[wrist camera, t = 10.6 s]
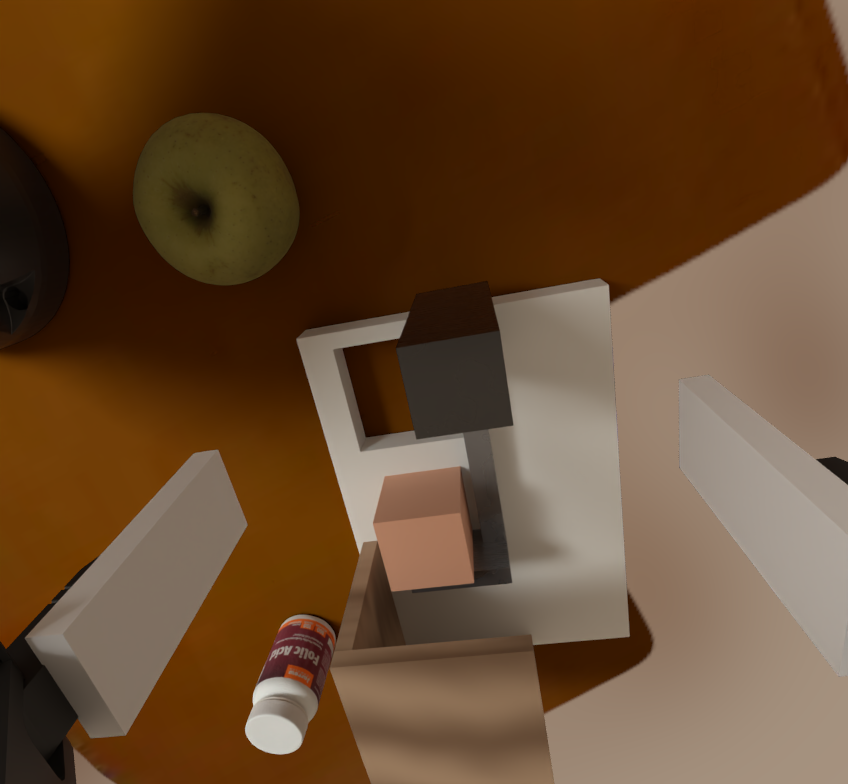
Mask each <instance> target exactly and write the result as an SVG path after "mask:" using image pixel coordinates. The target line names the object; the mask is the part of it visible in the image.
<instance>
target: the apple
mask: <svg viewBox="0 0 848 784" xmlns="http://www.w3.org/2000/svg"><path fill="white" fill-rule="evenodd" d="M133 204H134V208H135V213H136V216H137V218H138V221H139V223H140V225H141V227H142V229H143V231H144V233H145V235H146V236H147V238H148V240H149V241H150V242H151V244H152V245H153V247H154V248H155V249H156V250H157V252H158V253H159V254H160V255H161V256H162V257H163V258H164V259H165V260H166V261H167V262H168V263H169V264H170V265H171V266H173V267H174V268H175V269H176V270H178V271H180V272H181V273H183V274H184V275H186V276H188V277H190V278H192V279H195V280H197V281H200V282H204V283H208V284H214V285H236V284H241V283H245V282H249V281H251V280H253V279H256V278H258V277H260V276H262V275H263V274H265V273H267V272H268V271H269V270H271V269H272V268H273V267H274V266H275V265H276V264H277V263H278V262H279V261H280V260H281V259H282V258H283V257H284V255H285V254H286V253H287V251H288V250H289V248H290V247H291V245H292V243H293V241H294V239H295V236H296V234H297V230H298V226H299V216H300V211H299V202H298V198H297V194H296V189H295V186H294V183H293V180H292V177H291V175H290V173H289V171H288V169H287V167H286V165H285V164H284V162H283V160H282V158H281V157H280V155H279V154H278V153H277V151H276V150H275V148H274V147H273V146H272V145H271V144H270V142H269V141H268V140H267V139H266V138H264V137H263V136H262V135H261V134H260V133H259V132H257V131H256V130H255V129H253V128H252V127H250V126H249V125H247V124H245V123H243V122H241V121H239V120H237V119H234V118H232V117H228V116H225V115H221V114H215V113H191V114H187V115H184V116H180V117H176V118H174V119H172V120H170V121H169V122H167V123H165V124H163V125H162V126H161V127H160V128H159V129H158V130H157V131H156V132H155V133H153V134H152V136H151V137H150V139H149V140H148V141H147V143H146V145H145V147H144V149H143V151H142V153H141V155H140V157H139V160H138V163H137V167H136V170H135V176H134V183H133Z"/></svg>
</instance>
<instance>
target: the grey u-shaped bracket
mask: <svg viewBox="0 0 848 784" xmlns="http://www.w3.org/2000/svg"><path fill="white" fill-rule="evenodd" d="M396 351H397V356H398V360H399V364H400V369H401V373H402V378H403V382H404V387H405V391H406V396H407V400H408V404H409V409H410V413H411V418H412V422H413V427H414V431H415V436H416V440H417V439H424V438H431V437H438V436H445V435H452V434H459V433H463V436H464V442H465V447H466V452H467V458H468V463H469V469H470V474H471V479H472V485H473V490H474V495H475V501H476V506H477V511H478V517H479V522H480V528H481V529H476V530H473V560H474V583H471V584H461V585H451V586H442V587H432V588H422V589H413V590H411V591H412V593H422V592H431V591H441V590H451V589H460V588H470V587H480V586H490V585H499V584H509V583H512V575H511V567H510V559H509V551H508V543H507V537H506V531H505V525H504V518H503V512H502V506H501V500H500V494H499V488H498V482H497V476H496V470H495V464H494V458H493V452H492V446H491V440H490V434H489V429H494V428H501V427H507V426H514V425H513V418H512V411H511V404H510V397H509V390H508V383H507V376H506V369H505V362H504V356H503V349H502V342H501V335H500V329H499V325H498V321H497V317H496V313H495V309H494V305H493V301H492V297H491V293H490V289H489V286H488V282H487V281H485V282H479V283H474V284H468V285H463V286H457V287H452V288H446V289H441V290H435V291H430V292H424V293H419V294H416V297H415V299H414V302H413V305H412V307H411V310H410V312H409V315H408V318H407V320H406V323H405V326H404V328H403V331H402V333H401V336H400V339H399V341H398V344H397V347H396Z"/></svg>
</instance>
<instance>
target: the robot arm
mask: <svg viewBox="0 0 848 784" xmlns="http://www.w3.org/2000/svg"><path fill="white" fill-rule="evenodd" d="M68 274H69V251H68V243H67V237H66V232H65V229H64V225H63V221H62V218H61V215H60V212H59V210H58V207H57V205H56V202H55V200H54V198H53V196H52V194H51V192H50V190H49V188H48V186H47V184H46V183H45V181H44V179H43V178H42V176H41V174H40V173H39V171H38V170H37V168H36V167H35V166H34V164H33V163H32V161H31V160H30V159H29V158H28V156H27V155H26V154H25V153H24V151H23V150H22V149H21V148H20V147H19V146H18V144H17V143H16V142H15V141H14V140H13V139H12V138H11V137H10V136H9V135H8V134H7V133H6V132H4V131H3V130H2V129H1V128H0V349H2V348H5V347H7V346H10V345H13V344H16V343H18V342H21V341H23V340H25V339H28V338H29V337H31V336H33V335H34V334H36V333H37V332H39V331H40V330H41V329H42V328H43V327H45V326H46V325H47V323H48V322H49V321H50V320H51V319H52V318H53V316H54V315H55V313H56V312H57V310H58V308H59V306H60V304H61V302H62V300H63V297H64V294H65V290H66V287H67V282H68ZM679 468H680V469H681V471H682V472H683V473H684V475H685V476H686V477H687V478H688V480H689V481H690V482H691V484H692V485H693V486H694V488H695V489H696V490H697V492H698V493H699V494H700V495H701V497H702V498H703V499H704V501H705V502H706V503H707V505H708V506H709V507H710V508H711V510H712V511H713V512H714V514H715V515H716V517H717V518H718V519H719V520H720V522H721V523H722V524H723V526H724V527H725V528H726V530H727V531H728V532H729V534H730V535H731V536H732V537H733V539H734V540H735V541H736V543H737V544H738V545H739V547H740V548H741V549H742V551H743V552H744V553H745V555H746V556H747V557H748V558H749V560H750V561H751V562H752V564H753V565H754V566H755V567H756V569H757V570H758V572H759V573H760V574H761V576H762V577H763V578H764V579H765V581H766V582H767V583H768V584H769V586H770V587H771V589H772V590H773V591H774V592H775V594H776V595H777V596H778V598H779V599H780V600H781V602H782V603H783V604H784V606H785V607H786V608H787V609H788V611H789V612H790V614H791V615H792V616H793V617H794V619H795V620H796V621H797V623H798V624H799V625H800V626H801V628H802V629H803V631H804V632H805V633H806V635H807V636H808V637H809V638H810V640H811V641H812V642H813V644H814V645H815V646H816V648H817V649H818V650H819V652H820V653H821V654H822V655H823V657H824V658H825V659H826V661H827V662H828V663H829V665H830V666H831V667H832V669H833V670H834V671H835V673H836V674H837V675H838V676H839V677H840V676H848V462H846V461H844V460H841V459H839V458H837V457H830V458H823V459H814V458H813V457H812V456H811V455H809V454H808V453H807V452H806V451H804V450H803V449H802V448H801V447H799V446H798V445H797V444H796V443H794V442H793V441H792V440H791V439H789V438H788V437H787V436H785V435H784V434H783V433H782V432H780V431H779V430H778V429H777V428H775V427H774V426H773V425H772V424H770V423H769V422H768V421H766V420H765V419H764V418H763V417H762V416H760V415H759V414H758V413H757V412H755V411H754V410H753V409H752V408H750V407H749V406H748V405H747V404H745V403H744V402H743V401H742V400H740V399H739V398H738V397H736V396H735V395H734V394H733V393H731V392H730V391H729V390H728V389H726V388H725V387H724V386H722V385H721V384H720V383H719V382H718V381H716V380H715V379H714V378H713V377H711V376H710V375H704V376H697V377H690V378H684V379H679ZM246 527H247V522H246V519H245V517H244V514H243V512H242V509H241V507H240V504H239V502H238V499H237V497H236V494H235V492H234V489H233V487H232V484H231V481H230V479H229V476H228V474H227V471H226V469H225V466H224V464H223V461H222V459H221V456H220V454H219V451H218V450H212V451H205V452H198V453H194V454H193V455H192V456H191V457H190V458H189V459H188V460H187V461H186V462H185V463H184V465H183V466H182V467H181V468H180V469H179V470H178V471H177V472H176V473H175V474H174V475H173V477H172V478H171V479H170V480H169V481H168V482H167V483H166V484H165V485H164V486H163V487H162V489H161V490H160V491H159V492H158V493H157V494H156V495H155V496H154V497H153V498H152V500H151V501H150V502H149V503H148V504H147V505H146V506H145V507H144V508H143V509H142V510H141V512H140V513H139V514H138V515H137V516H136V517H135V518H134V519H133V520H132V521H131V522H130V524H129V525H128V526H127V527H126V528H125V529H124V530H123V531H122V532H121V533H120V534H119V536H118V537H117V538H116V539H115V540H114V541H113V542H112V543H111V544H110V545H109V546H108V548H107V549H106V550H105V551H104V552H103V553H102V554H101V555H100V556H98V557H97V558H96V559H94V560H93V561H92V562H90V563H89V564H88V565H86V566H85V567H83V568H82V569H81V570H80V571H79V572H78V573H77V574H76V575H75V576H74V577H73V578H72V579H71V580H70V582H69V583H68V584H67V585H66V586H65V590H61V591H60V592H59V593H58V594H57V595H56V597H55V598H54V599H53V600H52V603H51V604H48V605H47V606H46V607H45V608H44V609H43V610H42V612H41V613H40V614H39V615H38V616H37V617H36V618H35V619H34V620H33V621H32V622H31V623H30V624H29V625H28V627H27V628H26V629H25V630H24V631H23V632H22V633H21V634H20V635H19V636H18V637H17V638H16V639H15V640H14V642H13V643H12V644H11V645H10V646H9V647H8V648H7V649H5V647H4V646H3V644H2V643H1V642H0V784H76V775H75V765H74V753H73V747H72V745H71V743H70V741H69V740H68V739H67V737H66V734H67V733H68V731H69V730H70V728H71V727H72V725H73V724H74V723H75V721H76V720H77V718H78V720H79V721H80V723H81V724H82V726H83V727H84V729H85V730H86V732H87V733H88V735H89V736H90V738H100V737H112V736H124V735H126V734H127V732H128V730H129V729H130V727H131V725H132V724H133V722H134V720H135V718H136V717H137V715H138V713H139V711H140V710H141V708H142V706H143V705H144V703H145V701H146V699H147V698H148V696H149V694H150V692H151V691H152V689H153V687H154V686H155V684H156V682H157V680H158V679H159V677H160V675H161V674H162V672H163V670H164V668H165V667H166V665H167V663H168V661H169V660H170V658H171V656H172V655H173V653H174V651H175V649H176V648H177V646H178V644H179V642H180V641H181V639H182V637H183V636H184V634H185V632H186V630H187V629H188V627H189V625H190V623H191V622H192V620H193V618H194V617H195V615H196V613H197V611H198V610H199V608H200V606H201V604H202V603H203V601H204V599H205V598H206V596H207V594H208V592H209V591H210V589H211V587H212V585H213V584H214V582H215V580H216V579H217V577H218V575H219V573H220V572H221V570H222V568H223V566H224V565H225V563H226V561H227V560H228V558H229V556H230V554H231V553H232V551H233V549H234V548H235V546H236V544H237V542H238V541H239V539H240V537H241V535H242V534H243V532H244V530H245V529H246Z"/></svg>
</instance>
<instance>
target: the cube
mask: <svg viewBox="0 0 848 784" xmlns="http://www.w3.org/2000/svg"><path fill="white" fill-rule="evenodd" d="M373 526H374V530H375V534H376V537H377V541H378V544H379V548H380V552H381V555H382V559H383V562H384V566H385V570H386V573H387V577H388V580H389V584H390V588H391V591H392V592H393V591H403V590H413V589H422V588H432V587H442V586H451V585H461V584H471V583H474V560H473V529H472V524H471V519H470V514H469V509H468V504H467V498H466V493H465V488H464V483H463V478H462V472H461V467H460V466H458V467H451V468H443V469H436V470H428V471H421V472H413V473H406V474H398V475H391V476H385V477H384V481H383V485H382V489H381V493H380V497H379V501H378V505H377V509H376V513H375V516H374V520H373Z"/></svg>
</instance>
